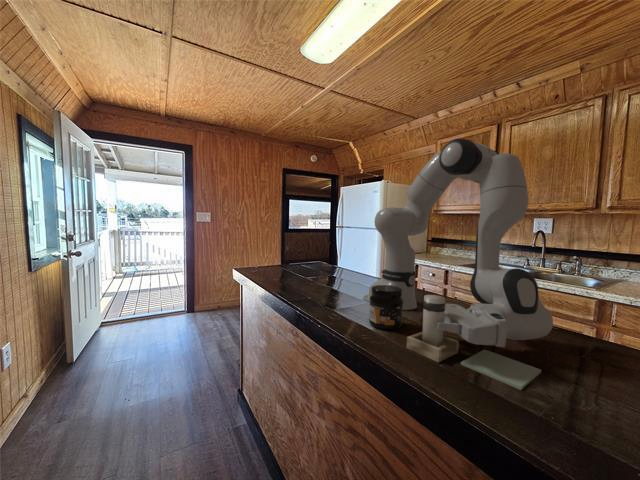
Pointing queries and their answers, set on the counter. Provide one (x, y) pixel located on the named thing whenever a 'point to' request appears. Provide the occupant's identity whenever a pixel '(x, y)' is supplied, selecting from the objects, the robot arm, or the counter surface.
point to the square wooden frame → (432, 347)
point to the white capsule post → (433, 319)
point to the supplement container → (386, 307)
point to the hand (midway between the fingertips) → (430, 320)
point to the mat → (502, 368)
